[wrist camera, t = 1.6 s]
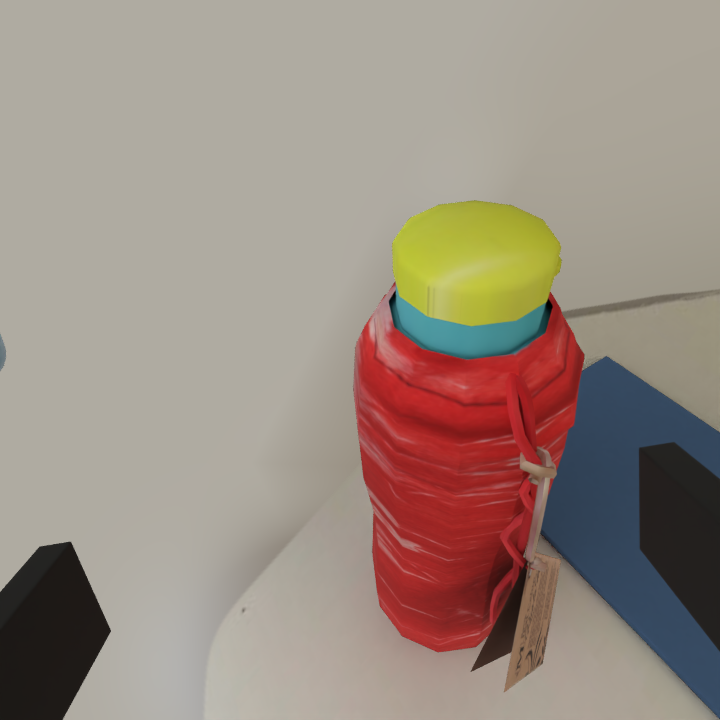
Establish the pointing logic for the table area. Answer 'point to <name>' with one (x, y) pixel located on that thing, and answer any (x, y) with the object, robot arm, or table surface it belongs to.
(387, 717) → the table surface
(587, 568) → the blue mat
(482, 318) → the water bottle
